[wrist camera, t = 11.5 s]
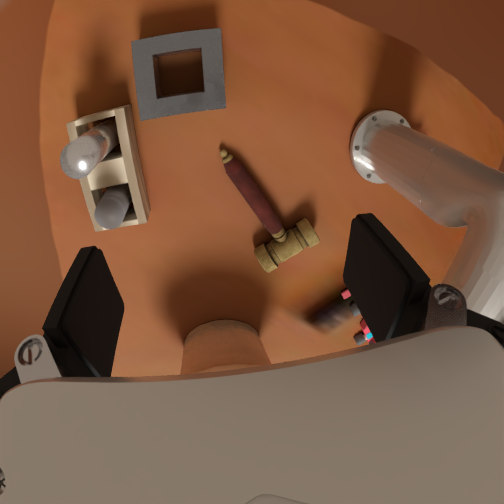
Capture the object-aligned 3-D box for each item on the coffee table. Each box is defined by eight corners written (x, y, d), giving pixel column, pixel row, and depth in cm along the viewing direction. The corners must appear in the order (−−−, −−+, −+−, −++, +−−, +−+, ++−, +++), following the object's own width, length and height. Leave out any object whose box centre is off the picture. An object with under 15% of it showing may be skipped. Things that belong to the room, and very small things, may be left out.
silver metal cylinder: (119, 117, 32) (89, 136, 23) (124, 144, 35) (98, 174, 25) (92, 124, 32) (56, 147, 22) (98, 150, 34) (65, 182, 25)
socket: (217, 33, 28) (220, 28, 24) (222, 104, 34) (226, 108, 30) (139, 45, 27) (131, 41, 23) (147, 115, 33) (140, 120, 29)
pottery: (280, 309, 59) (300, 366, 47) (259, 367, 71) (271, 416, 59) (171, 308, 53) (171, 372, 42) (174, 369, 65) (176, 421, 54)
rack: (130, 104, 32) (117, 110, 26) (150, 209, 41) (144, 234, 35) (77, 118, 31) (56, 128, 25) (102, 218, 40) (90, 243, 34)
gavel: (190, 175, 36) (255, 132, 35) (192, 166, 40) (250, 128, 38) (270, 278, 47) (323, 246, 45) (265, 262, 51) (314, 232, 49)
